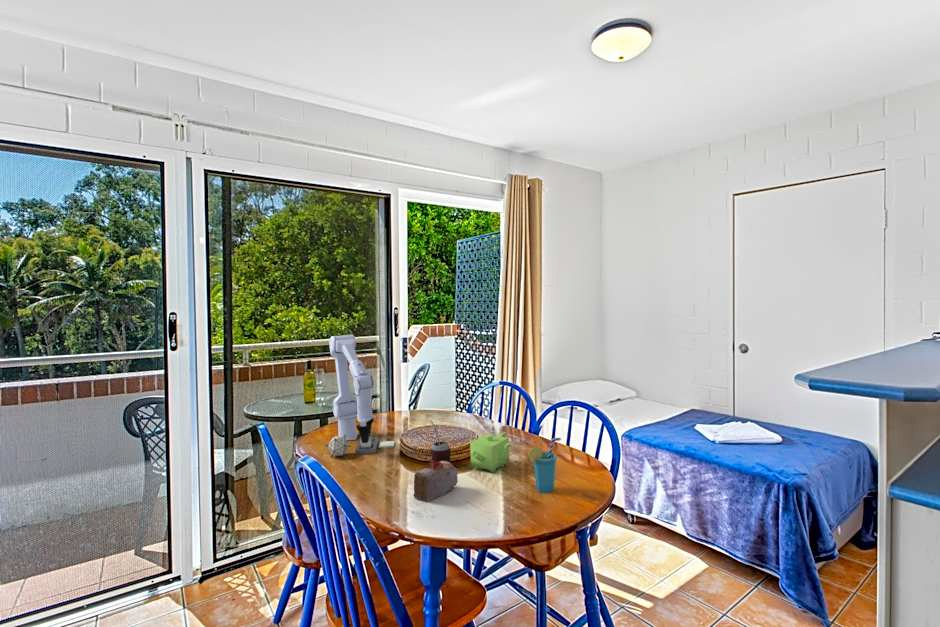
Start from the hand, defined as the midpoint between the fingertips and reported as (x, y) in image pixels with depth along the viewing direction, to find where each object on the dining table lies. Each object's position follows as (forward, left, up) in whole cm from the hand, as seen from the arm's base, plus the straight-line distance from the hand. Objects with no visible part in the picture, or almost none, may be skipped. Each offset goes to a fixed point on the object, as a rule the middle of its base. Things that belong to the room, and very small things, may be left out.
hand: (366, 439), depth 194 cm
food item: (+45, +26, -5) cm, 52 cm away
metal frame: (-3, 0, -4) cm, 5 cm away
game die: (+4, -10, -5) cm, 12 cm away
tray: (-5, +7, -4) cm, 10 cm away
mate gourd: (+22, +28, -5) cm, 36 cm away
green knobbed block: (+27, +46, -5) cm, 53 cm away
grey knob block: (0, 0, -4) cm, 4 cm away
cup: (+48, +60, -5) cm, 77 cm away
